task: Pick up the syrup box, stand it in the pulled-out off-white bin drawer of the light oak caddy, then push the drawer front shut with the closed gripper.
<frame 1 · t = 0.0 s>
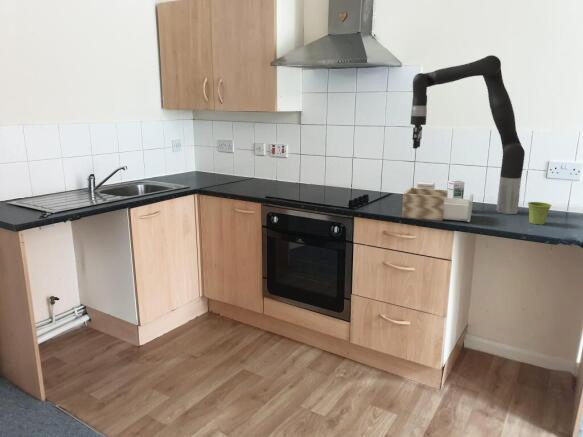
hand: (416, 147, 241), 29 cm above the table, tool pointing down, fingers open, 8 cm apart
caddy: (424, 215, 224), on the table
syrup box: (453, 210, 235), on the table
plant pot: (536, 223, 211), on the table
drawer: (450, 206, 219), point 5 cm above the table, slide at 10.0 cm
ink box: (424, 205, 246), on the table
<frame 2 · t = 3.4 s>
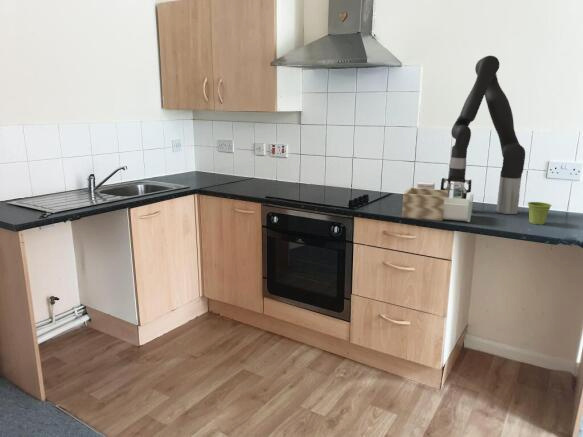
hand: (454, 199, 234), 5 cm above the table, tool pointing down, fingers closed on syrup box, 8 cm apart
syrup box: (453, 210, 235), on the table, touching gripper
everything else where it was.
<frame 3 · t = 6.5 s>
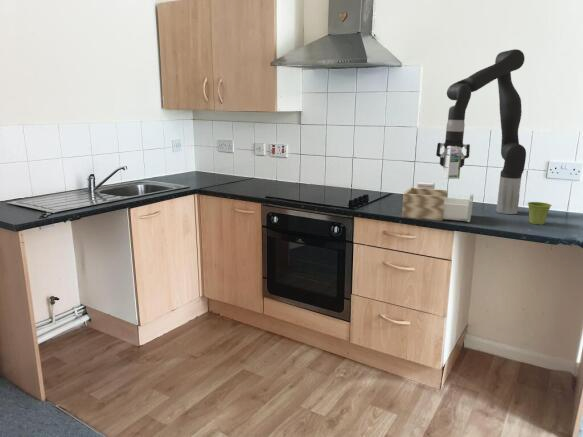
hand: (451, 166, 216), 23 cm above the table, tool pointing down, fingers closed on syrup box, 8 cm apart
syrup box: (450, 178, 217), point 18 cm above the table, touching gripper
everything else where it was.
when the fingers open (8 cm above the table, at t = 10.1 s): syrup box drops 2 cm, resting on drawer.
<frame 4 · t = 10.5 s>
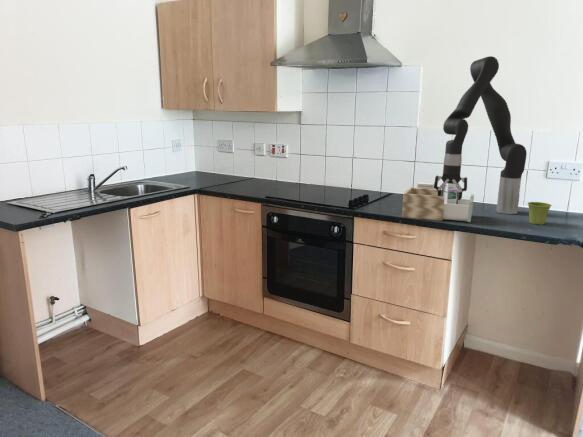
hand: (449, 199, 219), 9 cm above the table, tool pointing down, fingers open, 8 cm apart
syrup box: (448, 214, 220), point 1 cm above the table, touching drawer, gripper
drawer: (451, 206, 219), point 5 cm above the table, slide at 10.2 cm, touching syrup box
everything else where it was.
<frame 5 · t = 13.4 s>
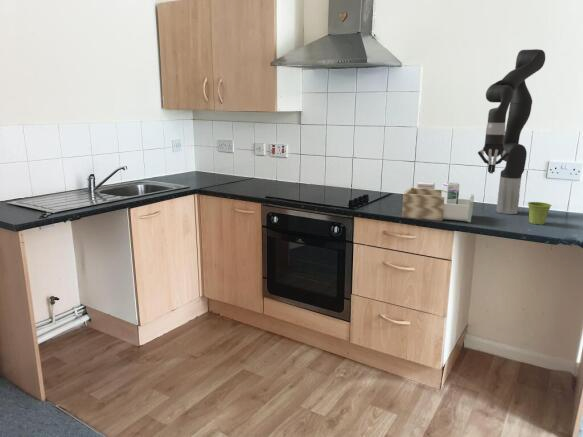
hand: (490, 173, 209), 22 cm above the table, tool pointing down, fingers closed
syrup box: (448, 214, 220), point 1 cm above the table, touching drawer
everything else where it was.
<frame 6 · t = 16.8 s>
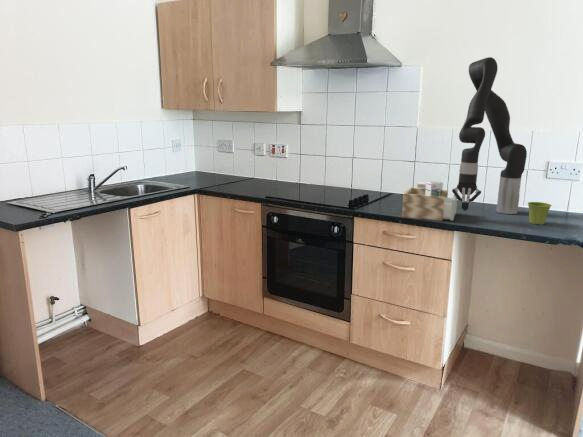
hand: (464, 210, 217), 4 cm above the table, tool pointing down, fingers closed
syrup box: (432, 212, 223), point 1 cm above the table, touching drawer
drawer: (435, 204, 222), point 5 cm above the table, slide at 3.0 cm, touching hand, syrup box
everything else where it was.
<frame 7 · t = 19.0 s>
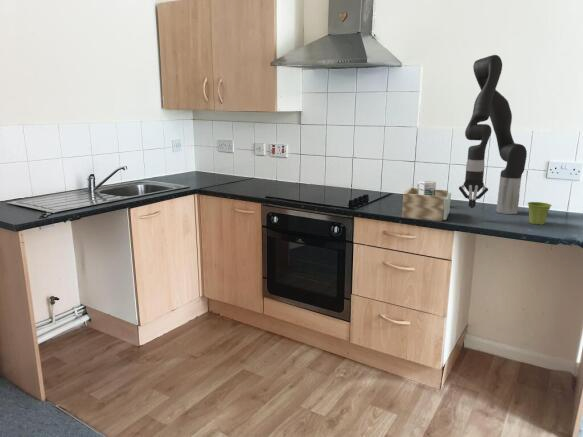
hand: (471, 207, 216), 5 cm above the table, tool pointing down, fingers closed
syrup box: (425, 212, 224), point 1 cm above the table, touching drawer
drawer: (428, 204, 223), point 5 cm above the table, slide at 0.0 cm, touching syrup box
everything else where it was.
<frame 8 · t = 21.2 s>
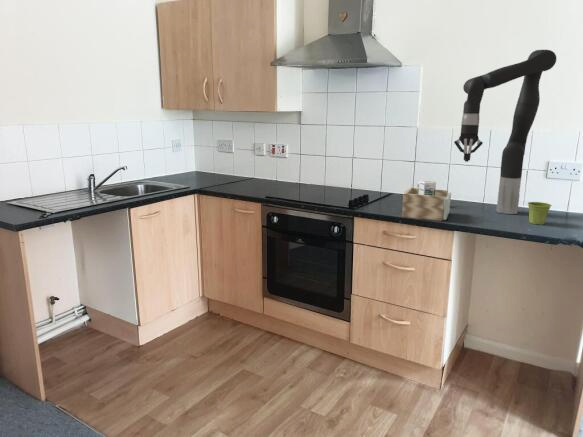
hand: (466, 161, 223), 25 cm above the table, tool pointing down, fingers closed
nothing on the table moved.
at the end: drawer slide at 0.0 cm; syrup box inside the target area on the caddy (0.4 cm from its centre), point 1.4 cm above the caddy's base; syrup box tilted 0° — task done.
